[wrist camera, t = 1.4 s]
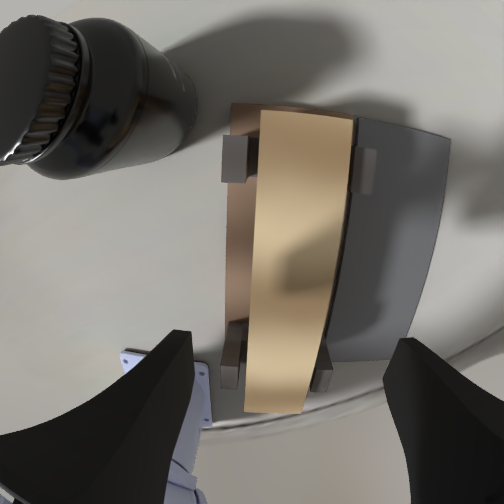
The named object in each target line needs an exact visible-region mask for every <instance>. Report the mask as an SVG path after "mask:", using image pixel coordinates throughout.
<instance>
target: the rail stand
mask: <svg viewBox="0 0 504 504" xmlns="http://www.w3.org/2000/svg"><path fill="white" fill-rule="evenodd" d="M261 110H271V111H285V112H296V113H306V114H314V115H322V116H330V117H337V118H343V119H350V120H353V126H352V140H351V153H350V164H349V174H348V184H347V192H346V201H345V209H344V216H343V223H342V230H341V237H340V243H339V250H338V256H337V262H336V268H335V273H334V279H333V284H332V289H331V294H330V300H329V304H328V309H327V314H326V319H325V323H324V328H323V332H322V337H321V341H320V345H319V349H318V354H317V358H316V362H315V366H314V369H313V373H312V377H311V381H310V392H326V391H327V388H328V385H329V382H330V378H331V375H332V372H333V367H332V363H331V359H330V355H329V352H328V348H327V344H326V340H325V336H324V329H325V324H326V320H327V315H328V311H329V306H330V301H331V296H332V291H333V286H334V280H335V275H336V270H337V264H338V258H339V252H340V246H341V240H342V233H343V226H344V219H345V212H346V204H347V196H348V191H350V192H353V193H361V194H369V195H372V191H373V183H374V174H375V165H376V154H377V150H374V149H369V148H363V147H356V146H353V133H354V117H355V115H351V114H345V113H339V112H332V111H325V110H317V109H309V108H300V107H290V106H277V105H262V104H235V103H232V106H231V125H230V135H223V150H222V176H221V182H225V183H228V197H227V232H226V286H225V344H224V349H223V354H222V359H221V365H220V373H221V388H225V389H236V390H237V388H238V379H239V370H240V364H247V351H248V333H249V316H250V299H251V281H252V264H253V246H254V228H255V210H256V193H257V175H258V157H259V139H260V121H261Z"/></svg>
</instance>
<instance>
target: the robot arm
mask: <svg viewBox="0 0 504 504" xmlns="http://www.w3.org/2000/svg"><path fill="white" fill-rule="evenodd" d="M120 358H121V362H122V365H123V369H124V372H125V375H123V376H122V377H121V378H120V379H118V380H117V381H116V382H115V383H113V384H112V385H111V386H109V387H108V388H107V389H105V390H104V391H102V392H101V393H99V394H98V395H96V396H95V397H93V398H92V399H90V400H89V401H87V402H85V403H83V404H82V405H80V406H78V407H76V408H74V409H72V410H70V411H68V412H67V413H65V414H63V415H61V416H58V417H56V418H54V419H52V420H49V421H47V422H44V423H42V424H39V425H36V426H33V427H30V428H27V429H24V430H20V431H16V432H12V433H8V434H4V435H0V487H1V488H2V489H4V490H5V491H6V492H8V493H9V494H10V495H12V496H13V497H14V498H15V499H14V502H13V503H12V502H10V501H9V500H7V499H6V498H5V497H3V496H2V495H1V494H0V504H208V503H207V501H206V498H205V495H204V493H203V492H202V491H201V490H200V489H198V488H195V487H196V482H197V477H196V476H193V475H191V473H192V471H193V468H194V464H195V459H196V454H197V448H198V444H199V439H200V434H201V429H202V427H208V428H209V427H212V413H211V400H210V386H209V370H208V366H207V365H206V364H205V363H200V362H194V357H193V346H192V334H191V331H182V330H172V331H171V332H170V333H169V334H168V335H167V336H166V337H165V338H164V339H163V340H162V341H161V342H160V343H159V344H158V345H157V346H156V347H155V348H154V349H153V350H152V351H151V352H150V353H148V354H147V355H145V354H139V353H134V352H128V351H122V352H121V353H120ZM202 372H204V373H202ZM383 384H384V389H385V394H386V398H387V402H388V405H389V408H390V411H391V414H392V417H393V420H394V423H395V426H396V428H397V431H398V434H399V437H400V440H401V443H402V446H403V449H404V453H405V457H406V462H407V468H408V474H409V482H410V493H411V504H504V401H502V400H500V399H498V398H497V397H495V396H493V395H492V394H490V393H488V392H486V391H485V390H483V389H482V388H480V387H479V386H477V385H476V384H474V383H473V382H472V381H470V380H469V379H467V378H466V377H465V376H463V375H462V374H461V373H459V372H458V371H457V370H455V369H454V368H453V367H452V366H450V365H449V364H448V363H447V362H445V361H444V360H443V359H442V358H440V357H439V356H438V355H437V354H435V353H434V352H433V351H431V350H430V349H429V348H428V347H426V346H425V345H424V344H422V343H421V342H419V341H418V340H417V339H415V338H413V337H412V338H399V341H398V343H397V346H396V348H395V351H394V353H393V356H392V358H391V361H390V363H389V365H388V367H387V370H386V372H385V374H384V376H383Z"/></svg>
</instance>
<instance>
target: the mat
mask: <svg viewBox="0 0 504 504" xmlns="http://www.w3.org/2000/svg"><path fill="white" fill-rule="evenodd" d="M356 147H363V148H369V149H374V150H377V154H376V165H375V174H374V183H373V191H372V195H369V194H361V193H353V192H351V195H350V203H349V211H348V218H347V225H346V232H345V238H344V245H343V251H342V257H341V262H340V268H339V273H338V279H337V284H336V289H335V294H334V299H333V304H332V308H331V313H330V318H329V322H328V326H327V331H326V335H325V340H326V344H327V348H328V352H329V355H330V359H331V362H341V361H370V360H387V359H391V358H392V356H393V353H394V351H395V348H396V346H397V343H398V341H399V338H405V337H406V334H407V332H408V329H409V327H410V324H411V321H412V318H413V315H414V313H415V310H416V307H417V304H418V301H419V298H420V295H421V291H422V288H423V285H424V282H425V278H426V275H427V271H428V268H429V264H430V260H431V256H432V252H433V248H434V244H435V240H436V235H437V231H438V226H439V221H440V216H441V210H442V205H443V199H444V192H445V186H446V178H447V170H448V161H449V151H450V140H449V139H446V138H443V137H440V136H436V135H433V134H429V133H426V132H422V131H419V130H415V129H411V128H407V127H403V126H399V125H395V124H390V123H386V122H381V121H376V120H371V119H366V118H361V117H359V118H357V132H356Z"/></svg>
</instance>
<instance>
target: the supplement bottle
mask: <svg viewBox="0 0 504 504" xmlns="http://www.w3.org/2000/svg"><path fill="white" fill-rule="evenodd" d="M196 109H197V100H196V93H195V90H194V87H193V84H192V82H191V81H190V79H189V77H188V76H187V75H186V74H185V73H184V72H183V71H182V70H181V69H180V68H179V67H178V66H177V65H176V64H175V63H173V62H172V61H171V60H170V59H168V58H167V57H166V56H165V55H163V54H162V53H161V52H160V51H158V50H157V49H156V48H154V47H153V46H152V45H151V44H149V43H148V42H147V41H145V40H144V39H143V38H141V37H140V36H139V35H137V34H136V33H135V32H133V31H132V30H130V29H129V28H127V27H126V26H124V25H122V24H121V23H119V22H116V21H114V20H111V19H106V18H87V19H82V20H78V21H75V22H72V23H69V24H66V23H63V22H57V21H54V20H52V19H49V18H47V17H44V16H40V15H37V16H36V15H28V16H27V17H21V18H20V19H18V20H17V21H14V22H12V23H11V24H10V25H9V26H8V27H6V28H4V29H3V30H2V32H1V33H0V166H4V165H9V164H17V165H22V164H27V165H28V166H29V167H30V168H31V169H33V170H34V171H35V172H37V173H39V174H41V175H43V176H45V177H48V178H51V179H57V180H68V179H75V178H80V177H85V176H89V175H93V174H97V173H102V172H106V171H111V170H116V169H120V168H125V167H130V166H136V165H141V164H145V163H150V162H154V161H157V160H159V159H162V158H164V157H166V156H167V155H169V154H170V153H172V152H173V151H174V150H176V149H177V148H178V147H179V146H180V145H181V143H182V142H183V141H184V140H185V138H186V137H187V135H188V134H189V132H190V130H191V128H192V126H193V123H194V120H195V116H196Z"/></svg>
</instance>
